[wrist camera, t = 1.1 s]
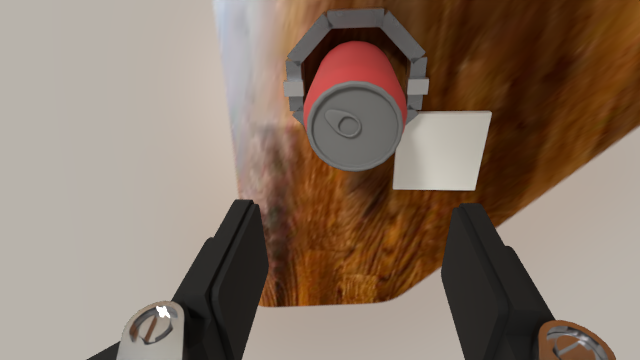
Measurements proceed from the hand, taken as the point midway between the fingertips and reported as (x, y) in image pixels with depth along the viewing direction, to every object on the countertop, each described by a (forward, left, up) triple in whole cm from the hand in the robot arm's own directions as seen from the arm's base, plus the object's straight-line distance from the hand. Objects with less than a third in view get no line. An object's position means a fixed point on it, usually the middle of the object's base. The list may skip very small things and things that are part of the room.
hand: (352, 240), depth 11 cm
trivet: (+7, +8, -22) cm, 24 cm away
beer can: (0, 0, -22) cm, 22 cm away
